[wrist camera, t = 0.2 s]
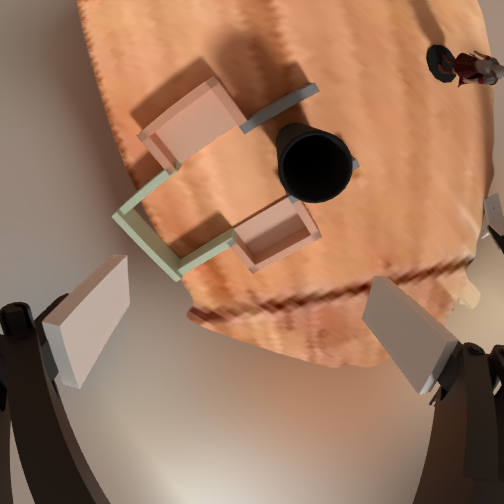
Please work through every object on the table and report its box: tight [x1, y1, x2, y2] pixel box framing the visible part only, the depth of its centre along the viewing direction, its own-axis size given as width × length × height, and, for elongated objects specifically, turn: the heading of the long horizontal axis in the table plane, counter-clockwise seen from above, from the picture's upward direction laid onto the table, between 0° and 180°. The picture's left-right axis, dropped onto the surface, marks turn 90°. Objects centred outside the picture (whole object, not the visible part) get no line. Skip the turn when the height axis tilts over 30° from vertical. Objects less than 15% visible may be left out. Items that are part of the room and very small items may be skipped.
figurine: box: [427, 45, 504, 87], centre depth 20 cm, size 7×7×15 cm
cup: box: [276, 123, 353, 203], centre depth 30 cm, size 8×8×12 cm
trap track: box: [112, 76, 360, 282], centre depth 37 cm, size 33×28×4 cm
